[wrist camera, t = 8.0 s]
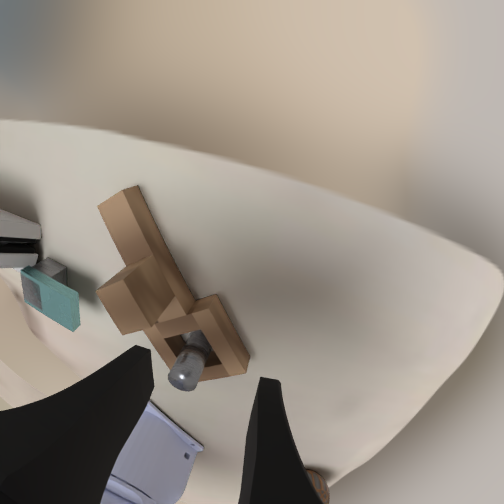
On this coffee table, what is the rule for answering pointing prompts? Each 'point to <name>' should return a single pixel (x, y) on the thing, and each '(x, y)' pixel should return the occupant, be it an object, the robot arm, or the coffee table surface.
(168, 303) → the link
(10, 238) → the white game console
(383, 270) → the coffee table surface
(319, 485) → the vase
